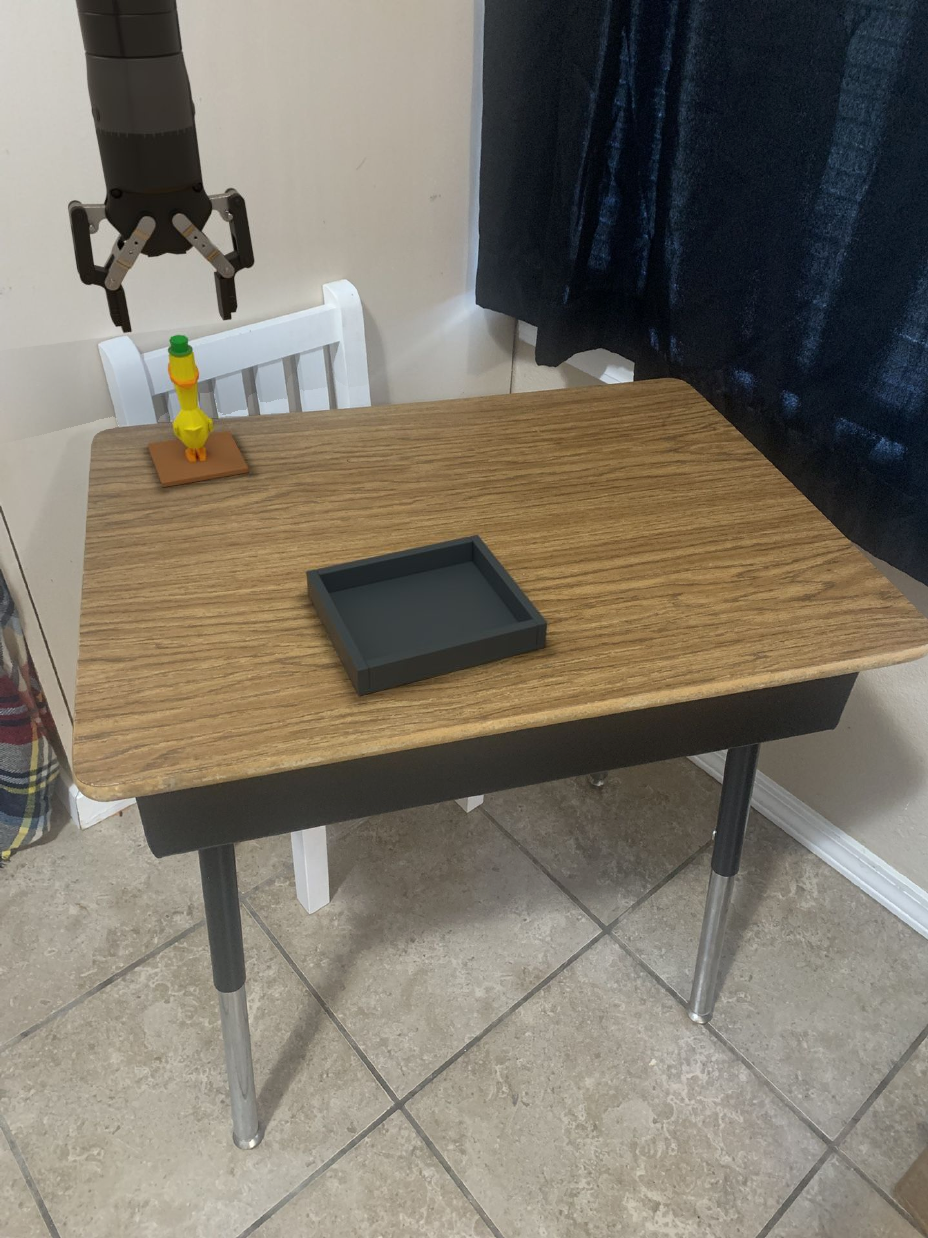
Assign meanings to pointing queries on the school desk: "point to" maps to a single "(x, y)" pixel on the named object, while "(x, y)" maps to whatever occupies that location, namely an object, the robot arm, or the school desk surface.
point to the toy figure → (188, 399)
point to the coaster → (197, 460)
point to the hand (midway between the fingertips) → (176, 323)
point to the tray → (423, 613)
